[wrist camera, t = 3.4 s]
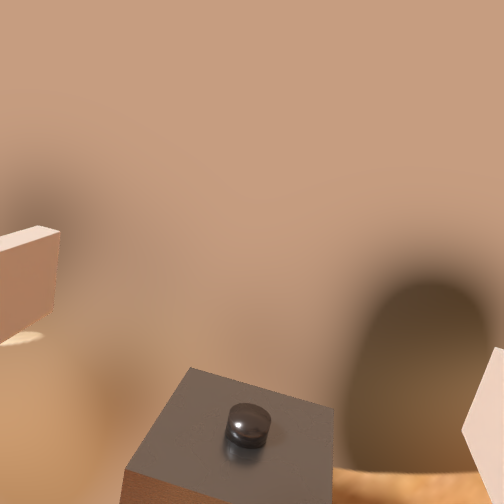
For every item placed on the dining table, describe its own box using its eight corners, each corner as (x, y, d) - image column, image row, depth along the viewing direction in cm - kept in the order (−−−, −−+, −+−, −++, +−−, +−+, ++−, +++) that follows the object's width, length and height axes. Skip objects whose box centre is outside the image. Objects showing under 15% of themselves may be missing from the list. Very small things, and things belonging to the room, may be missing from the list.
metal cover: (168, 483, 34) (193, 351, 31) (298, 526, 33) (338, 393, 30) (101, 619, 24) (128, 448, 21) (281, 685, 23) (338, 514, 20)
